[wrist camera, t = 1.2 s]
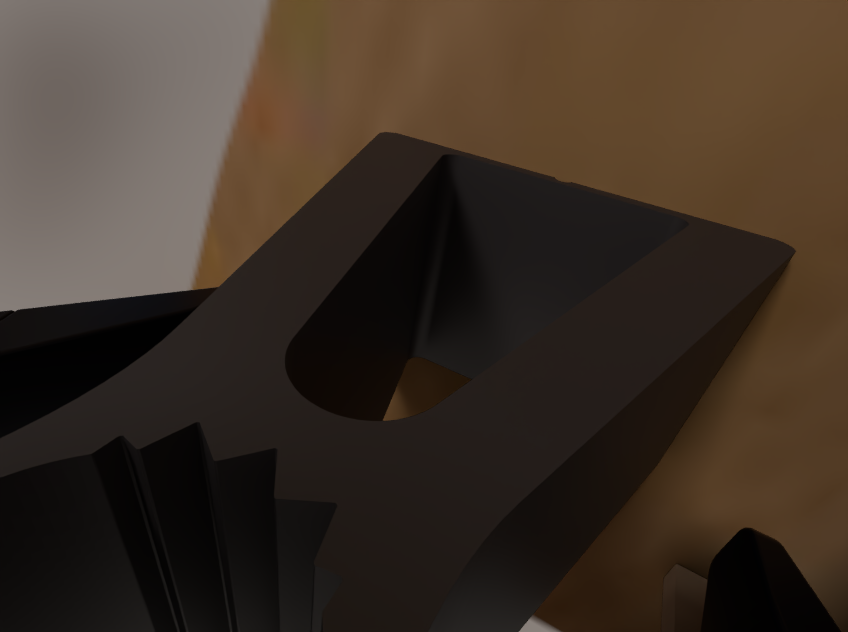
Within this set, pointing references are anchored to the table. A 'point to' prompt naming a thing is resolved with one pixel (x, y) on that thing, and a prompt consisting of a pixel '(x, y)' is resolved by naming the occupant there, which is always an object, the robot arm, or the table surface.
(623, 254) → the phone stand
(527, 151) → the table surface
